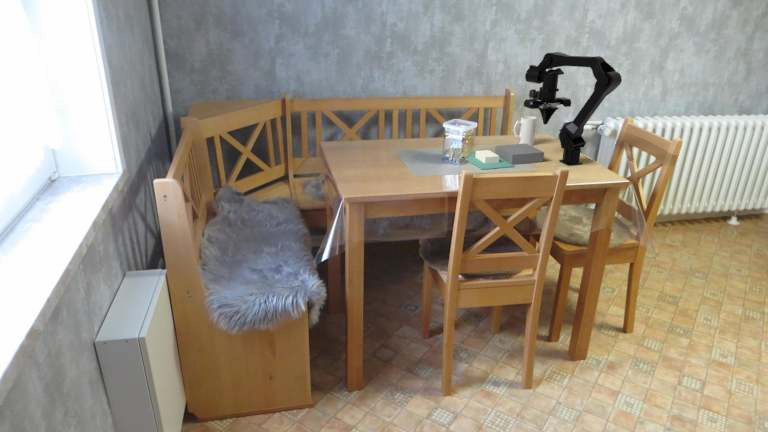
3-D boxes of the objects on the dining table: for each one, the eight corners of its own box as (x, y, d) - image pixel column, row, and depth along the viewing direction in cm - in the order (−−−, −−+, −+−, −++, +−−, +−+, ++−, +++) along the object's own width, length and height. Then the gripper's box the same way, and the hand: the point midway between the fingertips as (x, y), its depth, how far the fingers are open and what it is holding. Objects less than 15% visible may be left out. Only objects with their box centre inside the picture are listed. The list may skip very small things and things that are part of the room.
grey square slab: (542, 161, 218) (544, 152, 216) (511, 164, 214) (512, 154, 212) (524, 152, 230) (525, 143, 229) (494, 155, 226) (495, 145, 225)
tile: (485, 157, 213) (485, 163, 214) (499, 156, 214) (498, 162, 215) (475, 151, 221) (475, 157, 222) (489, 150, 222) (488, 156, 223)
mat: (514, 167, 211) (514, 166, 211) (481, 169, 207) (481, 168, 207) (490, 153, 229) (490, 152, 229) (459, 155, 225) (459, 154, 225)
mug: (529, 142, 246) (532, 115, 242) (536, 145, 240) (539, 118, 236) (508, 143, 244) (511, 116, 240) (515, 147, 238) (518, 119, 234)
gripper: (558, 81, 226) (553, 118, 232) (518, 83, 221) (514, 121, 227) (574, 85, 216) (569, 124, 222) (533, 87, 211) (528, 127, 217)
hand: (545, 124), depth 222 cm, fingers closed
